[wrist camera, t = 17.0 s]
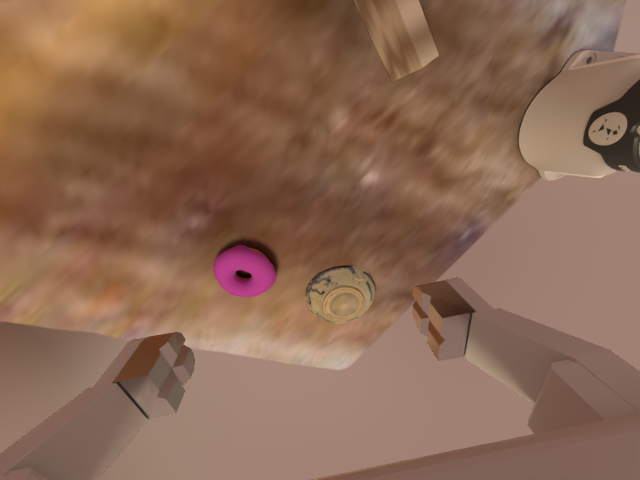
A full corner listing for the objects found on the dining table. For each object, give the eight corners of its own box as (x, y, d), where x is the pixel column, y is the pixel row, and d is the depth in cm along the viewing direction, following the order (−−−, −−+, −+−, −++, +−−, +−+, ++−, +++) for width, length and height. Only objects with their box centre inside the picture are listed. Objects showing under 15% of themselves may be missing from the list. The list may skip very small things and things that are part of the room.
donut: (207, 254, 43) (198, 268, 39) (258, 232, 42) (254, 243, 38) (238, 295, 47) (233, 311, 43) (284, 275, 46) (284, 290, 42)
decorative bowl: (389, 280, 50) (329, 250, 45) (396, 291, 46) (332, 260, 42) (349, 328, 55) (291, 306, 50) (353, 341, 51) (291, 319, 47)
